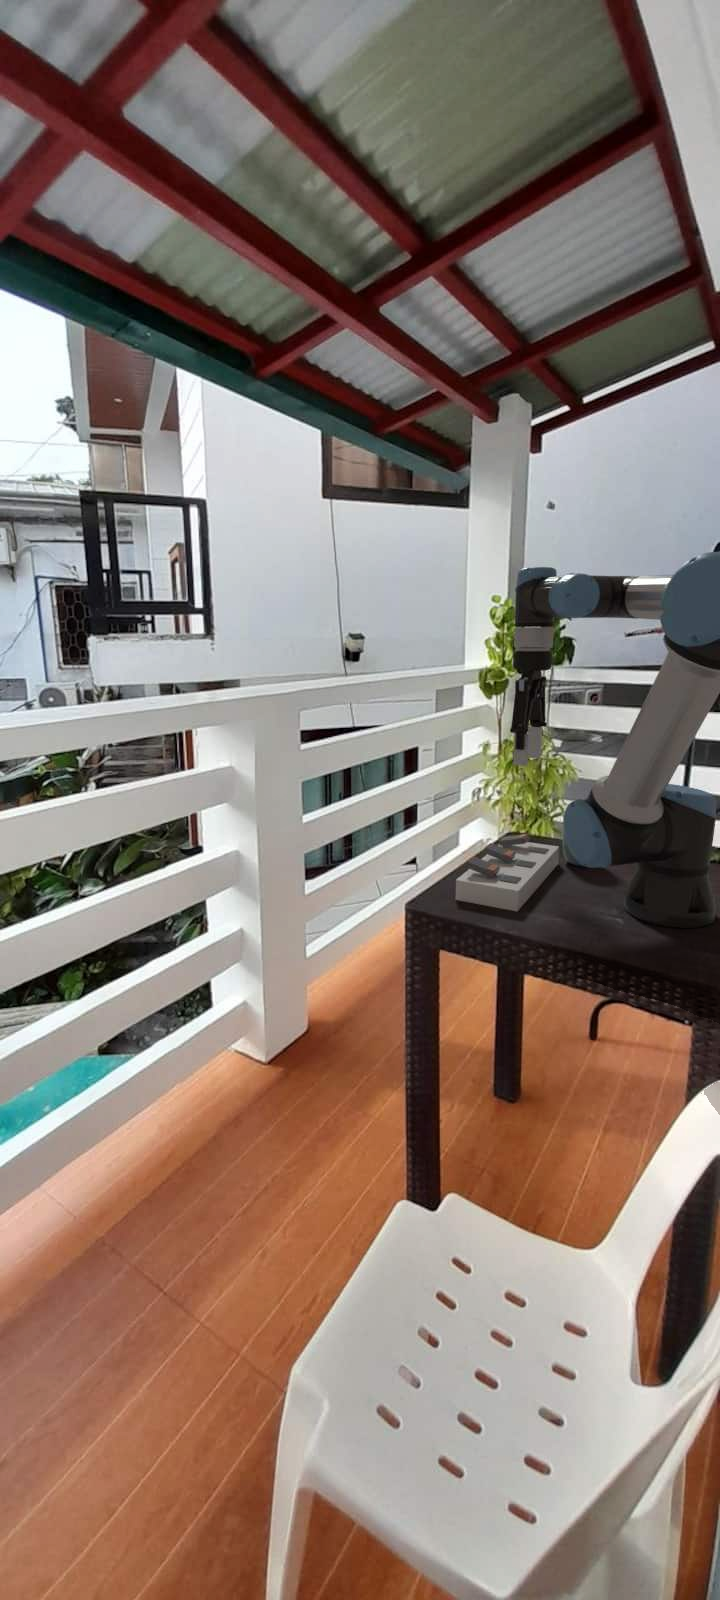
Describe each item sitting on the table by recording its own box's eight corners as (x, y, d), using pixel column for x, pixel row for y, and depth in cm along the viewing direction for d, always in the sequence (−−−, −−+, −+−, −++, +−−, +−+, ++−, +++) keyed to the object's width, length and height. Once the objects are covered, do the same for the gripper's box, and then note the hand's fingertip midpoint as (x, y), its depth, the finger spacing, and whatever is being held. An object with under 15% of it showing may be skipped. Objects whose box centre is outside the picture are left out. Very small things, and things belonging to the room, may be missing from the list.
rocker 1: (498, 872, 135) (500, 866, 134) (492, 878, 132) (494, 872, 131) (472, 861, 137) (474, 855, 137) (465, 867, 134) (467, 860, 134)
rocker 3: (529, 839, 151) (528, 833, 151) (525, 843, 148) (523, 837, 148) (505, 841, 154) (504, 835, 154) (500, 846, 151) (498, 840, 151)
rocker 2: (514, 858, 143) (516, 852, 143) (508, 863, 140) (510, 857, 140) (489, 847, 145) (490, 842, 145) (483, 852, 142) (485, 846, 142)
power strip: (567, 853, 160) (568, 835, 159) (517, 911, 127) (518, 889, 126) (516, 845, 166) (517, 828, 165) (455, 899, 133) (456, 878, 132)
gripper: (529, 648, 150) (524, 751, 155) (497, 651, 131) (492, 768, 136) (565, 648, 146) (558, 754, 151) (536, 651, 128) (530, 772, 133)
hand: (527, 761), depth 144 cm, fingers open, 9 cm apart
